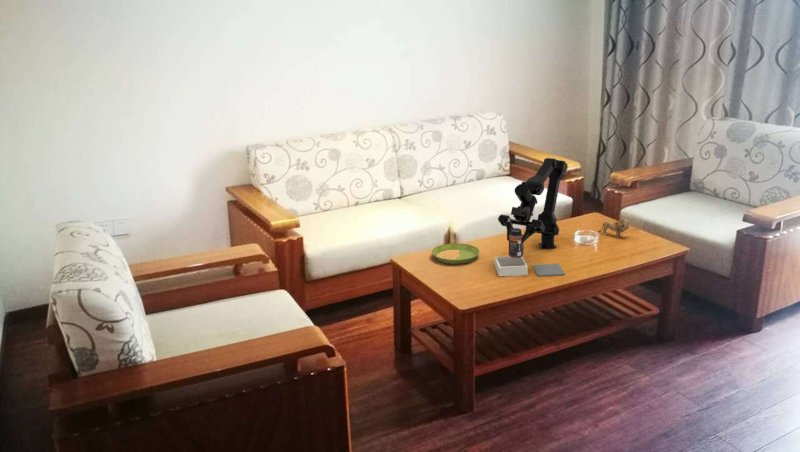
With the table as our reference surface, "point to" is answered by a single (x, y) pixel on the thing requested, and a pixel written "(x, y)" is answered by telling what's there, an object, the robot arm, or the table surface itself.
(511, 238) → the supplement bottle
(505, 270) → the white hollow square frame
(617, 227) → the lion figurine
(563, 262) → the table surface
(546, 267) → the rubber mat
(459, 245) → the saucer
